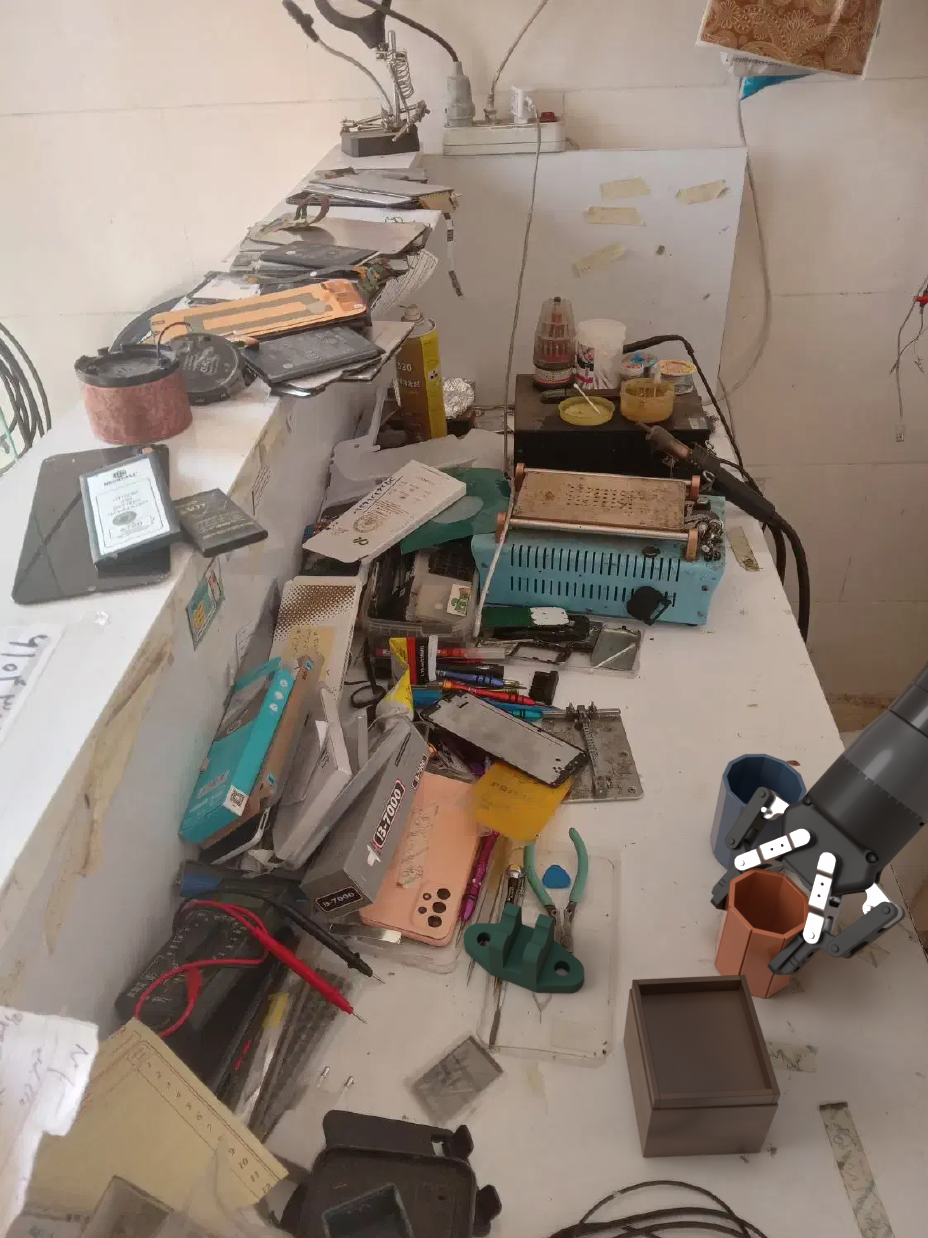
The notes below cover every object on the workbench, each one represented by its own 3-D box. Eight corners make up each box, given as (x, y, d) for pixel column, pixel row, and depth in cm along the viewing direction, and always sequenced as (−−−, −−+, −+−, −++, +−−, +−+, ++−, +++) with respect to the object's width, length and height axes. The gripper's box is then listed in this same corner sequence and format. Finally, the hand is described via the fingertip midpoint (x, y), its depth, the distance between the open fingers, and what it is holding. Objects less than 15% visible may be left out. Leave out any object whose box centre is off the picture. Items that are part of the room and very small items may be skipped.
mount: (455, 961, 72) (451, 929, 69) (475, 918, 75) (472, 886, 72) (574, 1007, 68) (576, 976, 65) (590, 960, 71) (592, 928, 68)
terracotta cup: (804, 975, 69) (826, 914, 64) (749, 1009, 67) (767, 950, 62) (753, 919, 74) (770, 858, 68) (700, 950, 72) (713, 889, 66)
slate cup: (802, 859, 78) (823, 793, 72) (746, 891, 76) (762, 826, 70) (750, 808, 83) (765, 743, 77) (695, 837, 81) (707, 772, 75)
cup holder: (728, 1035, 66) (746, 973, 60) (759, 1153, 59) (782, 1096, 53) (623, 1039, 66) (630, 978, 60) (642, 1157, 59) (653, 1101, 54)
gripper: (797, 714, 66) (665, 867, 69) (957, 843, 56) (793, 1015, 59) (831, 736, 71) (706, 877, 74) (984, 857, 61) (831, 1015, 64)
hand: (745, 937), depth 67 cm, fingers closed on terracotta cup, 6 cm apart
